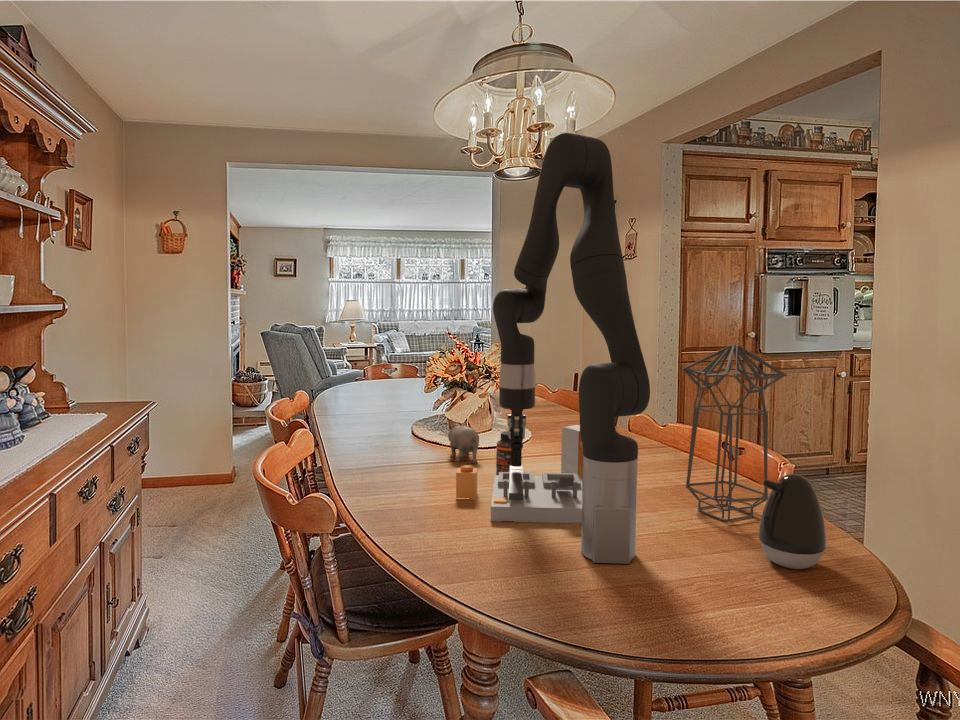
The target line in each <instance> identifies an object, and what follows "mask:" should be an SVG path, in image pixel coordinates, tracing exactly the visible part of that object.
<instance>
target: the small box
mask: <svg viewBox="0 0 960 720" xmlns="http://www.w3.org/2000/svg"><path fill="white" fill-rule="evenodd" d="M560 454H561V455H560V457H561V458H560V459H561V460H560V461H561V463H560V473H577V474H578V477H581V478H582V481H583V445H582V440H581V436H580V424H575V425H574V424H573V425H569V426H568V425H567V426H561V453H560Z"/></svg>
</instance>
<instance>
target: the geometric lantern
mask: <svg viewBox="0 0 960 720" xmlns="http://www.w3.org/2000/svg"><path fill="white" fill-rule="evenodd" d="M733 355H734V362H735V368H732V361H733ZM712 358H714V359H712ZM727 358H728V361H727ZM710 359H712V361H711V362H709V363H708V364H707V365H706V366H705V367H704V368H703V369H701V370H700V369H697V368H696V369H695V368H693V367H695V366H697V365H698V364H701V363H703V362H705V361H708V360H710ZM752 359H753V360H754V361H756V362H758V363H760V364H762V365H763V366H765V367H767V368H768V369H769V370H772V371H774V372H769V373H768V372H764V371H763V370H762V369H761V367H759V366H758V364H756V363H755V362H754V361H753V360H752ZM742 360H743V361H744V363H745V364H746V365H747V367H748V368H749V369H750V371H749V370H746V368H745V365H744V363H743V361H742ZM726 361H727V364H726V368H725V367H724V365H725V362H726ZM719 364H720V365H719ZM718 365H719V366H718ZM717 366H718V368H717ZM723 367H724V368H723ZM740 367H741V368H740ZM716 368H717V370H715V369H716ZM681 371H683V372H684V373H685V374H686V375H687V376H688V377H689V379H690V380H691V381H692V382H693V383H694V384H695V385H696V387H697V391H696V396H695V400H694V404H693V413H692V415H693V416H692V422H691V423H692V425H691V434H690V443H689V444H690V445H689V453H688V463H687V464H688V466H687V472H686V474H687V475H686V482H685V483H686V485H685V488H686V489H687V490H688V491H689V492H690V493H691V494H692V495H693V496H694V497H695V499H696V500H697V501H698V503H697V504H698V505H697V507H698V508H697V511H698V512H700V513H703V514H705V515H708V516H709V517H713V518H715V519H717V520H719V521H721V522H731V521H736V520H744V519H748V518H753V517H754V509H755V508H756V507H757V506H759V505H761V504H763V503H764V502H765V503H766V502H767V499H768V497H769V492H768V489H769V487H767V486H765V485H764V484H763V485H764V486H763V491H760V490H759V489H758V490H757V489H755V488H752V487H748V486H745V485H742V484H740V483H738V480H737V479H738V456H739V453H738V452H739V434H740V432H739V430H740V429H739V427H740V426H739V425H740V416H755V415H757V416H759V415H761V416H762V436H763V438H762V439H763V441H762V442H763V470H764V471H763V472H764V475H763V478H764V480H765V479H767V480H768V455H769V453H768V451H769V449H768V445H769V443H768V442H769V440H768V439H769V413H770V411H768V410H767V407H766V406H767V405H766V401H765V394H764V390H766V389H767V388H768V387H770V386H772V385H773V384H775V383H776V382H778V381H779V380H781V379H783V378H784V377H788V374H787V373H785V372H784V371H781V370H780V369H779V368H776V367H775V366H773V365H772V364H771V363H768V362H767V361H765V360H763V358H761V357H759V356H757V355H756V354H754V353H752V352H750V351H749V350H747V349H745V348H744V347H742V346H741V345H736V344H730V345H728V346H726V347H724V348H722V349H719V350H718V351H716V352H714V353H712V354H710V355H707V356H705V357H704V358H701V359H700V360H698V361H695V362H693V363H691V364H688V365H687V366H684V367H683V368H682V369H681ZM731 371H735V373H734V374H732V375H731V374H730V372H731ZM722 372H724V373H722ZM738 372H739V373H738ZM760 373H761V374H760ZM701 375H704V379H702V378H701V377H700V376H701ZM749 375H751V376H749ZM726 377H729V378H731V377H732V378H735V380H736V381H737V382H738V383H739V384H740V385H741V387H742V388H743V390H745V391H743V393H742V394H741V395H740V397H739V398H738V399H737V400H736V401H735V403H733V404H731V403H729V401H728V399H727V398H726V396H725V395H724V393H723V392H722V391H721V389H720V387H719V384H721V382H722V381H724V379H725V378H726ZM739 377H740V378H744V380H746V382H747V383H748V387H747V386H746V384H745V383H744V382H743V381H742V380H741V379H740V378H739ZM708 378H715V381H713V382H708V381H709V380H708ZM771 379H772V380H771ZM752 380H755V384H754V383H753V382H752ZM759 380H760V384H761V385H760V386H759V385H758V383H759ZM768 380H770V381H769V382H768ZM764 381H765V382H764ZM700 382H701V383H702V384H703V386H702V385H701V383H700ZM713 386H714V387H716V388H717V390H718V391H719V393H720V394H721V396H722V397H723V399H724V400H725V402H726V403H727V404H720V403H719V401H718V399H717V397H716V395H715V394H714V391H713V390H712V388H713ZM700 390H701V392H700ZM706 390H708V391H709V392H710V394H711V397H712V398H713V400H714V402H715V404H712V405H711V404H709V405H707V404H705V405H704V404H703V405H701V403H702V401H703V400H702V399H703V396H704V393H705V391H706ZM699 393H700V396H699ZM754 393H759V395H760V401H761V406H762V407H761V408H762V409H758V408H752V407H749V406H748V407H747V406H742V405H743V403H744V402H745V401H746V399H747V398H748V396H749V395H750V394H754ZM698 397H699V399H698ZM740 400H741V401H740ZM697 401H698V402H697ZM739 401H740V402H739ZM696 404H697V405H696ZM737 404H738V405H737ZM716 407H717V408H718V409H719V411H717V410H712V409H708V408H716ZM723 407H728V409H727V412H725V411H724V410H723ZM734 408H735V409H736V412H735V413H734V412H733V413H732V412H731V411H733V409H734ZM740 409H745V410H749V411H750V410H751V411H756V412H740ZM700 410H701V411H706V412H709V413H715V414H719V415H720V417H719V425H718V426H719V429H718V441H717V455H716V456H717V457H716V466H715V467H716V468H715V480H714V481H704V482H702V481H701V482H693V483H691V482H690V481H691V474H692V467H693V460H694V453H695V445H696V438H697V429H698V423H699V414H700ZM723 416H727V418H726V428H725V438H724V446H723V448H724V449H723V456H722V457H723V459H722V468H721V474H720V465H721V464H720V462H721V450H722V447H721V446H722V436H723V435H722V434H723V433H722V432H723V422H724V421H723V420H724V417H723ZM733 416H736V418H735V419H736V421H735V447H734V451H735V452H734V470H733ZM727 451H728V480H725V479H724V478H725V471H726V460H727ZM733 471H734V473H733ZM733 474H734V476H733ZM719 475H721V476H720V480H719ZM732 477H734V478H733V479H732ZM764 480H763V481H764ZM732 481H733V482H732ZM719 484H720V485H721V495H718V490H719ZM724 484H726V485H728V494H727V495H725V491H724ZM704 485H705V486H706V485H714V496H711V495H709V494H707V493H704V492H702V491H700V490H698V489H696V488H693V486H694V487H695V486H704ZM735 487H739V488H742V489H744V490H747V491H751V492H753V493H756V494H759V495H762V496H760V497H759V496H758V497H745V498H743V497H742V498H734V497H732V492H733V490H734V489H735ZM697 494H699V495H700V496H703V497H702V498H700V497H699V495H697ZM706 500H707V501H706ZM708 500H712V501H714V502H716V503H717V504H713V503H710V502H708ZM750 501H753V503H749V502H750ZM724 502H725V503H724ZM736 502H737V503H738V502H739V503H740V504H745V505H747V506H741V507H736V506H733V505H732V503H736ZM701 503H703V504H706V506H701ZM723 506H726V507H727V508H724V507H723ZM710 508H716V509H719V510H720V511H721V517H719V516H717V515H714V514H711V513H709V512H707V511H705V510H702V509H710ZM747 509H750V510H749V511H750V512H749V511H747ZM731 511H740V512H743V513H745V514H748V515H744V516H739V517H733V518H731ZM725 512H727V518H725Z"/></svg>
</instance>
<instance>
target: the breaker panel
mask: <svg viewBox="0 0 960 720" xmlns="http://www.w3.org/2000/svg"><path fill="white" fill-rule="evenodd" d="M534 474H535V473H534V472H527V471H526V472H524V471H523V500H509V479H510V472H499V475H496V474H495V475H494V477H493V478H494V479H493V486H492V494H491V500H490V501H491V502H490V522H501V521H514V523H544V524H545V523H547V524H549V523H550V524H551V523H553V524H554V523H555V524H582V478H581V477H578V474H577V473H561V472H542V474H541V475H534ZM558 478H574V486H573V487H571V488H569V489H562V488H556V480H557V479H558Z"/></svg>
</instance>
